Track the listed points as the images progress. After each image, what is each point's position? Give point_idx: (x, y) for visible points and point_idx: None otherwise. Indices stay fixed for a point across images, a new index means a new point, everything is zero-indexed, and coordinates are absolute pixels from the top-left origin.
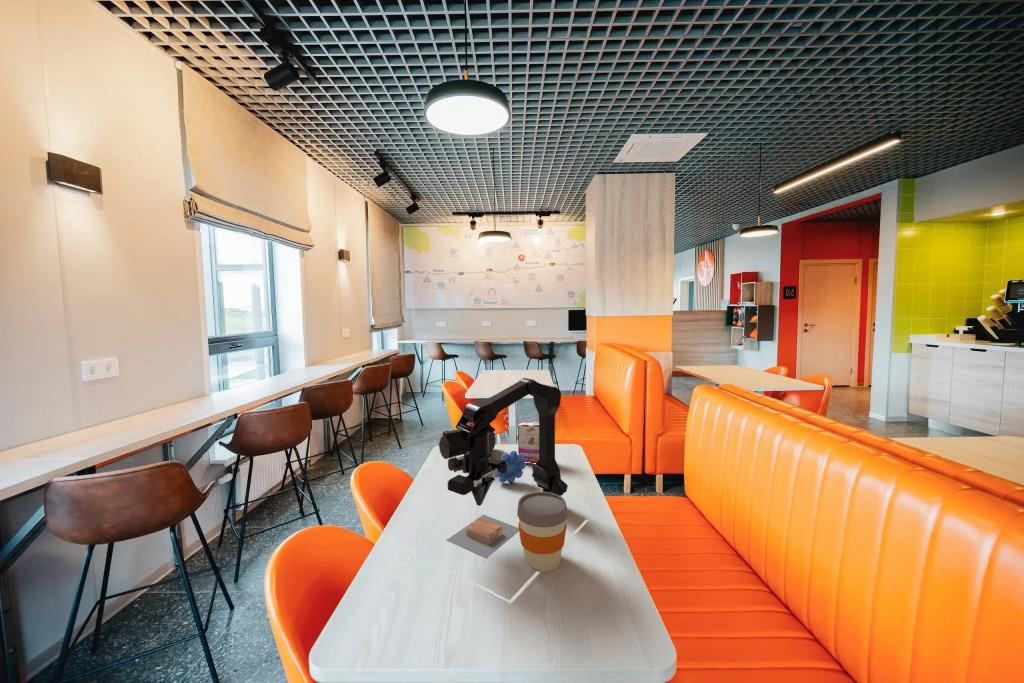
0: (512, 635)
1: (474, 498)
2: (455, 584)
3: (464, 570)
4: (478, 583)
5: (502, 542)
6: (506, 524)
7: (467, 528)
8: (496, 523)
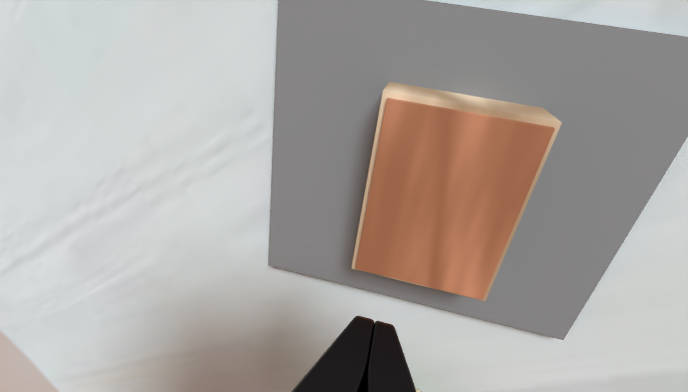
0: (109, 385)
1: (302, 379)
2: (111, 211)
3: (179, 206)
4: (166, 276)
5: (405, 291)
6: (595, 263)
7: (380, 104)
8: (594, 204)
